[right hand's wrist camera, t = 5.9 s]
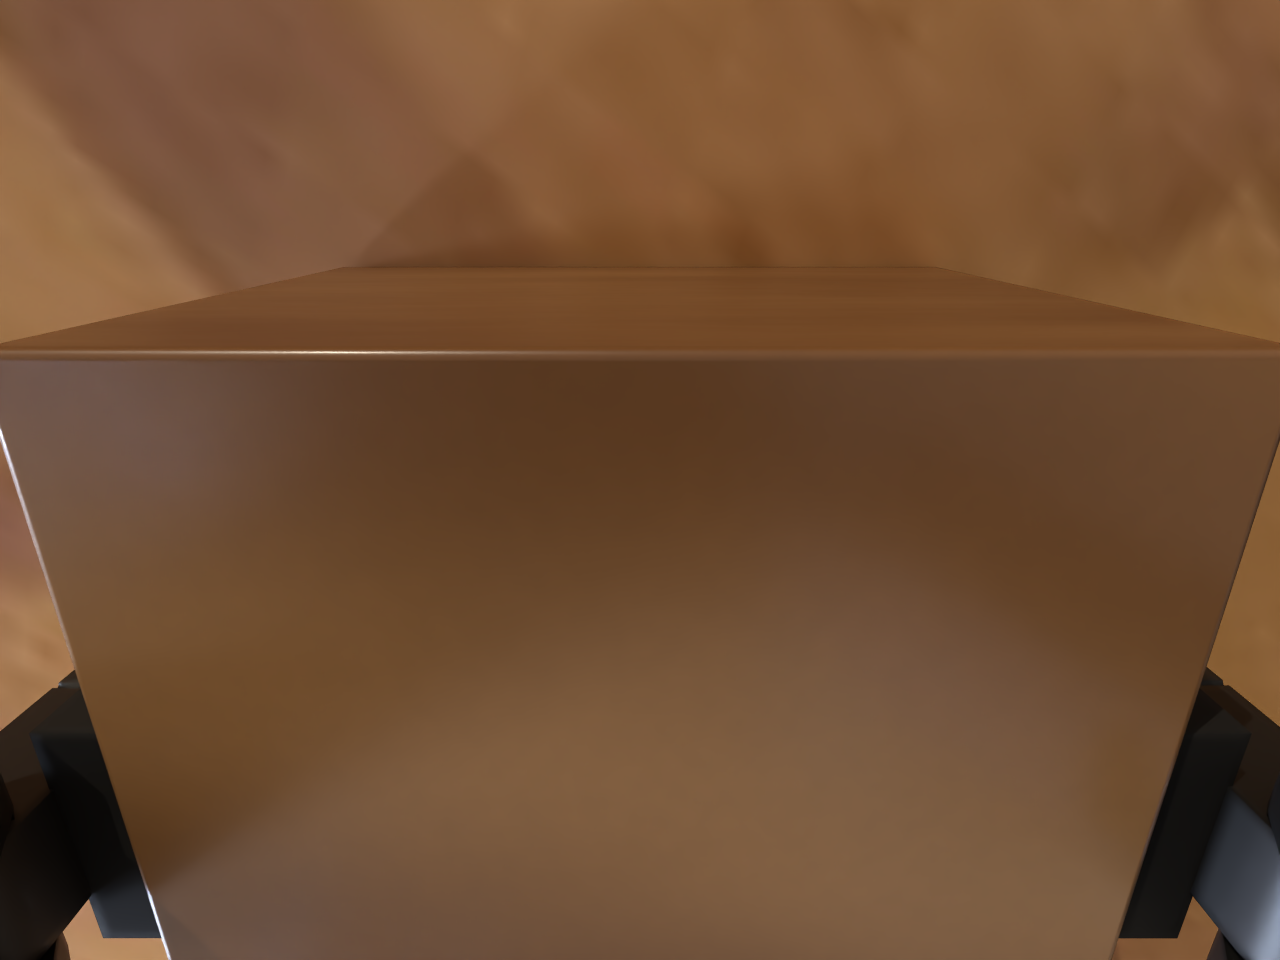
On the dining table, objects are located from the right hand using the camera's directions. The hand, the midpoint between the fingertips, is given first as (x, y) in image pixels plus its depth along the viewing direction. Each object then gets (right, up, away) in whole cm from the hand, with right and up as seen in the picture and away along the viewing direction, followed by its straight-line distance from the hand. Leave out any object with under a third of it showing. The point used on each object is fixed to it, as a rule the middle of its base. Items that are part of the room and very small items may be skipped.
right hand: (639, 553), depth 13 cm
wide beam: (0, -28, +11) cm, 30 cm away
